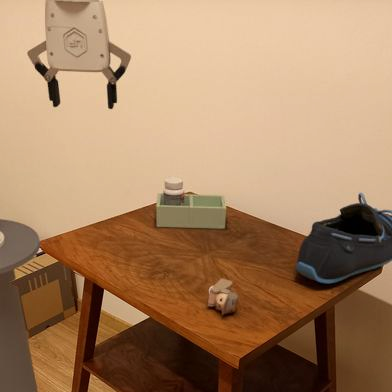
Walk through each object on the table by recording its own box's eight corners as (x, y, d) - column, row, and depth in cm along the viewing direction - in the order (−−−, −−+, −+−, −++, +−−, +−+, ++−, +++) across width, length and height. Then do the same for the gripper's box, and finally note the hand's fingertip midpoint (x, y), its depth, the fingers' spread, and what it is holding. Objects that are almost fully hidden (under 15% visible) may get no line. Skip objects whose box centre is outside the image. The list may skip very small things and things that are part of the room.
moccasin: (415, 250, 113) (435, 197, 106) (352, 302, 89) (372, 239, 82) (356, 230, 119) (371, 179, 112) (283, 275, 95) (297, 213, 89)
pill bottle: (185, 220, 116) (186, 183, 111) (164, 220, 115) (164, 183, 110) (182, 212, 120) (183, 176, 115) (162, 212, 119) (162, 176, 114)
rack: (156, 227, 115) (156, 206, 112) (157, 213, 121) (157, 193, 118) (224, 228, 115) (226, 208, 113) (222, 215, 122) (224, 195, 119)
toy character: (198, 289, 84) (232, 301, 82) (216, 274, 90) (247, 284, 89) (194, 311, 86) (227, 323, 84) (212, 294, 92) (243, 304, 91)
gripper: (12, -12, 78) (30, 109, 88) (126, -7, 79) (130, 113, 89) (24, -14, 84) (39, 100, 94) (130, -9, 85) (134, 103, 95)
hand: (84, 106), depth 92 cm, fingers open, 9 cm apart
